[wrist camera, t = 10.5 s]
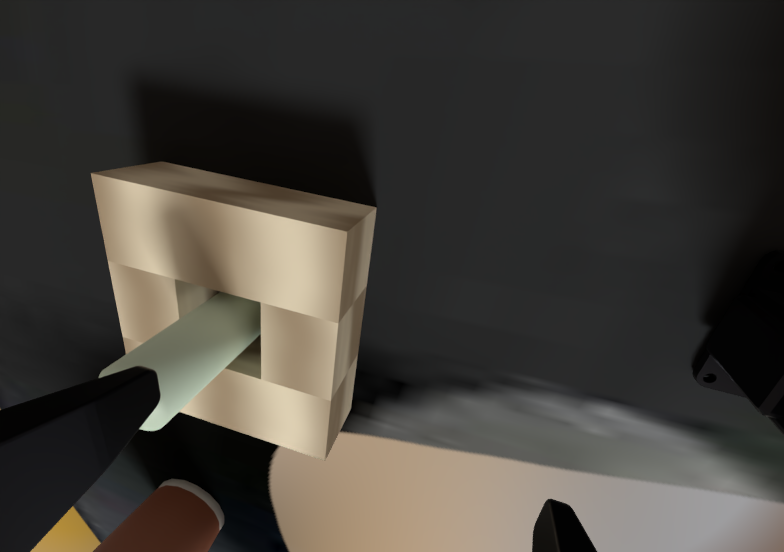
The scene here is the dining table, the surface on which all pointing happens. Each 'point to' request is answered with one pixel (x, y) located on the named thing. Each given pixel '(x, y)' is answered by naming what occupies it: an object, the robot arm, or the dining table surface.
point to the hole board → (246, 289)
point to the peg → (193, 351)
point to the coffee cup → (169, 522)
